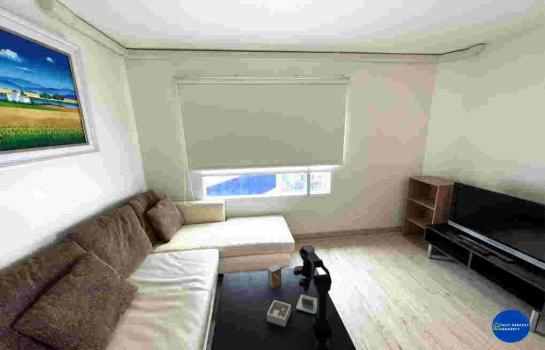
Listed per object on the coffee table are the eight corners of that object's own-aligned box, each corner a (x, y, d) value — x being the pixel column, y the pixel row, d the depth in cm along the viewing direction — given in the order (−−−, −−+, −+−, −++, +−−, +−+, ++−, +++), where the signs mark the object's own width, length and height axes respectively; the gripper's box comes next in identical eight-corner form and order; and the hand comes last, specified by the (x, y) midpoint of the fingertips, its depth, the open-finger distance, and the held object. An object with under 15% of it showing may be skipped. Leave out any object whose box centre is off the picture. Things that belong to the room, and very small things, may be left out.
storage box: (285, 327, 120) (284, 319, 119) (267, 321, 124) (266, 313, 123) (290, 311, 130) (290, 304, 129) (274, 306, 134) (274, 300, 133)
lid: (315, 316, 127) (315, 307, 126) (295, 310, 131) (295, 302, 130) (319, 301, 138) (319, 293, 136) (301, 296, 142) (300, 288, 141)
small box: (272, 288, 150) (271, 272, 147) (267, 283, 155) (267, 267, 153) (281, 283, 154) (281, 267, 152) (276, 279, 160) (276, 263, 157)
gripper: (298, 254, 140) (299, 275, 143) (290, 271, 124) (290, 294, 127) (315, 257, 136) (315, 279, 139) (309, 275, 119) (309, 299, 122)
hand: (307, 287), depth 132 cm, fingers open, 9 cm apart
